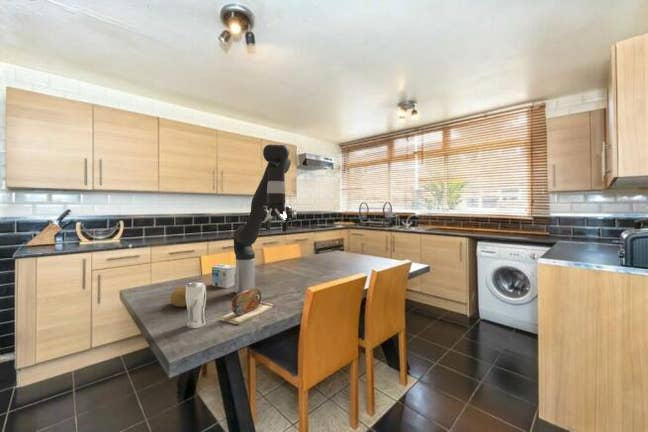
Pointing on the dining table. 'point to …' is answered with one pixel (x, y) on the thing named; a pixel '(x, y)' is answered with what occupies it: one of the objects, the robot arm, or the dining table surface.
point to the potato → (179, 296)
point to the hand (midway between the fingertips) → (276, 230)
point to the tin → (246, 301)
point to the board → (243, 318)
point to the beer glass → (196, 304)
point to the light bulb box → (223, 275)
